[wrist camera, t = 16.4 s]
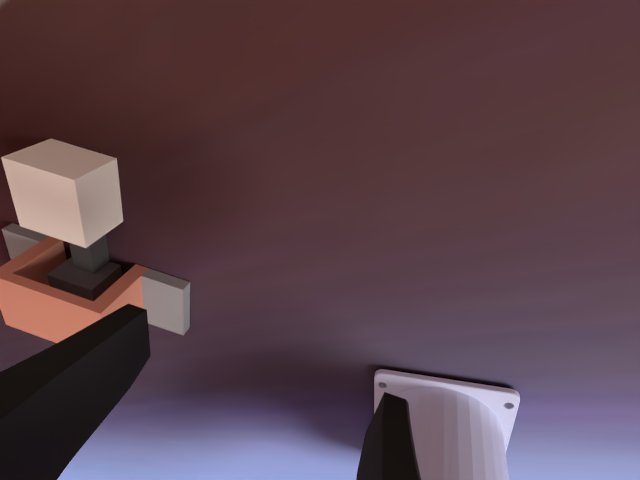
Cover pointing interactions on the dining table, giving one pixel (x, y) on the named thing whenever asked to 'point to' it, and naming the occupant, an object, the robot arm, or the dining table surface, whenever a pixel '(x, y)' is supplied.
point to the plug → (69, 209)
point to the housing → (73, 311)
